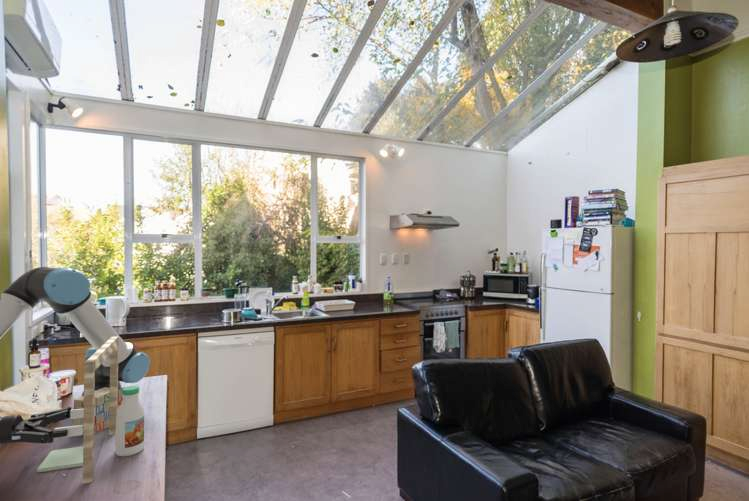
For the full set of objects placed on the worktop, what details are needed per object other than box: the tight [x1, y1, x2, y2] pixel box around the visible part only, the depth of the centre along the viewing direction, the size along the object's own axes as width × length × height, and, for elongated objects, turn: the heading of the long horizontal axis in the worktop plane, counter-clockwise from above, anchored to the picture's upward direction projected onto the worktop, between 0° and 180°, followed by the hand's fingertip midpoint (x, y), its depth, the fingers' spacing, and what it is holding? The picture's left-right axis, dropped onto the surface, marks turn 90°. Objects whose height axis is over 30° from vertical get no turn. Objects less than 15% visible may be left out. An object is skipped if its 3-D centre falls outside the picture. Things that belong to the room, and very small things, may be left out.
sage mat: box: [36, 445, 83, 473], centre depth 124 cm, size 11×11×1 cm
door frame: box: [82, 335, 120, 485], centre depth 127 cm, size 32×2×33 cm, turn 21°
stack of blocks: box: [73, 386, 126, 437], centre depth 149 cm, size 21×6×12 cm, turn 167°
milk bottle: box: [115, 385, 145, 457], centre depth 130 cm, size 8×8×20 cm
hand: (89, 420), depth 126 cm, fingers open, 13 cm apart
